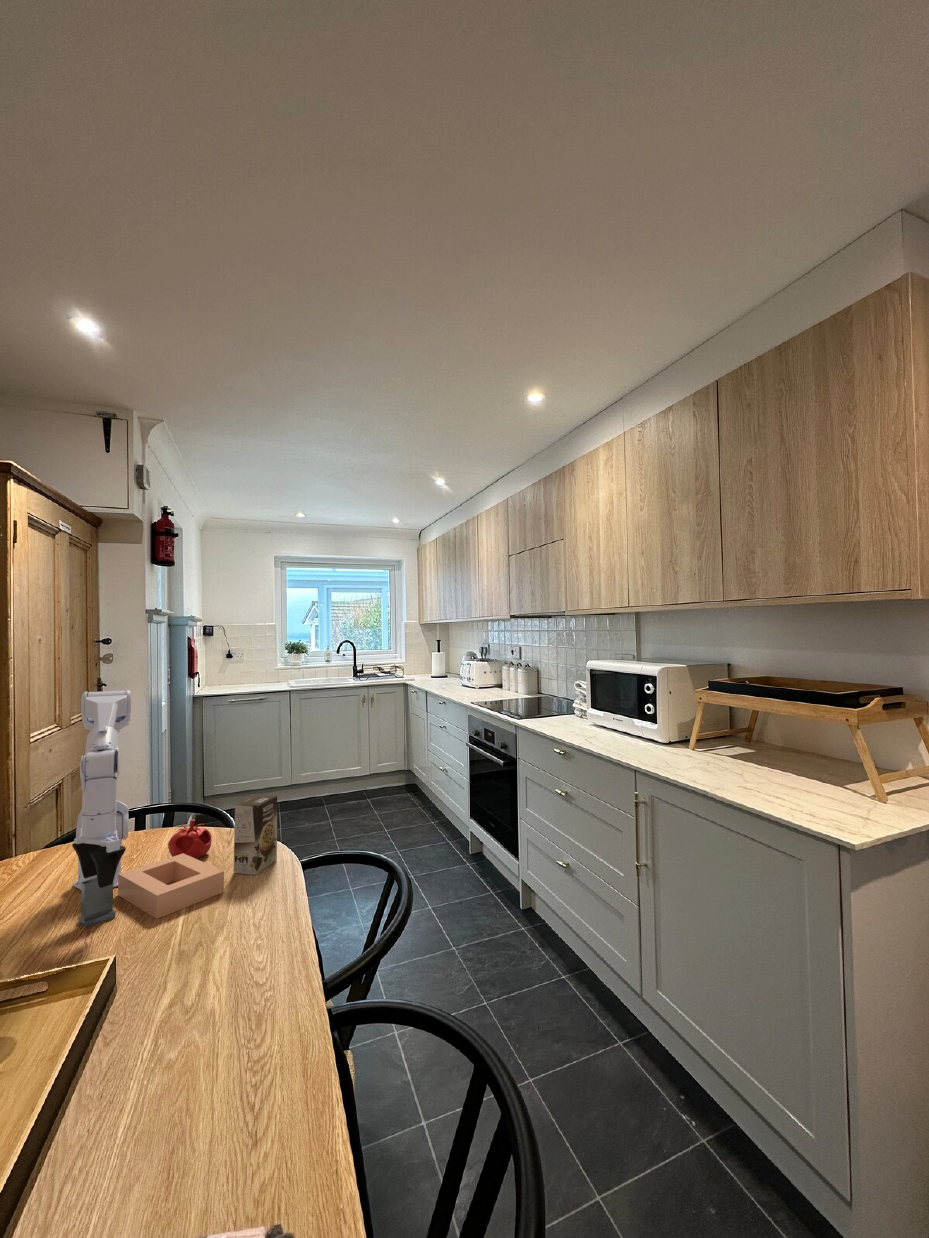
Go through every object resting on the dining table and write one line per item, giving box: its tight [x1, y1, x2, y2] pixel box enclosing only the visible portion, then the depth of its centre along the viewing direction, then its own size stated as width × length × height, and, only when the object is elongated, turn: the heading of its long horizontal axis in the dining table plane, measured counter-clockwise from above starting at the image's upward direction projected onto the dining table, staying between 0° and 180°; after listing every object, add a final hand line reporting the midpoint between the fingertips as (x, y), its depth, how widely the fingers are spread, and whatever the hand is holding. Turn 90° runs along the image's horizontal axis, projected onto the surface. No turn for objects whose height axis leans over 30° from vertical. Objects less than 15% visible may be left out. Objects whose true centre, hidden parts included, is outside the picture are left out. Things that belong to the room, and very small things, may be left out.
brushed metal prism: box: [77, 878, 116, 930], centre depth 106 cm, size 4×5×8 cm
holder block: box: [117, 854, 225, 919], centre depth 117 cm, size 18×14×4 cm
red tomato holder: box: [167, 819, 213, 860], centre depth 138 cm, size 10×10×9 cm
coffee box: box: [233, 795, 278, 876], centre depth 131 cm, size 9×6×16 cm
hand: (97, 880), depth 106 cm, fingers open, 7 cm apart
